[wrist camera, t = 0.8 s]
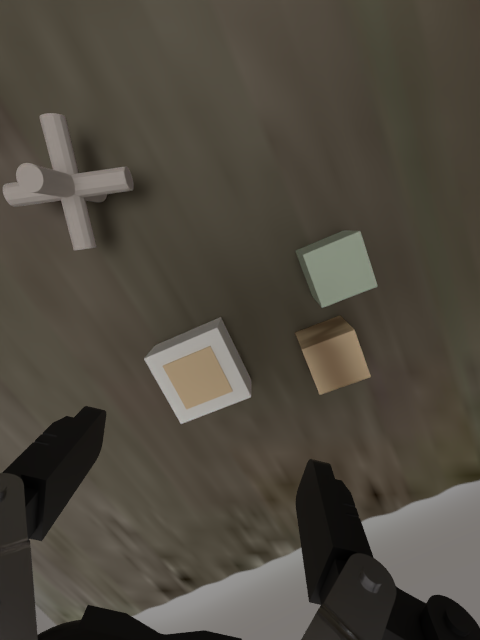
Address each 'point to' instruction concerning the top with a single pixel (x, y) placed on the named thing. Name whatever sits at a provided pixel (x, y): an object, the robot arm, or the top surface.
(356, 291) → the sage block
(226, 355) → the white base
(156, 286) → the top surface
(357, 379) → the oak block
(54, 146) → the pipe connector
